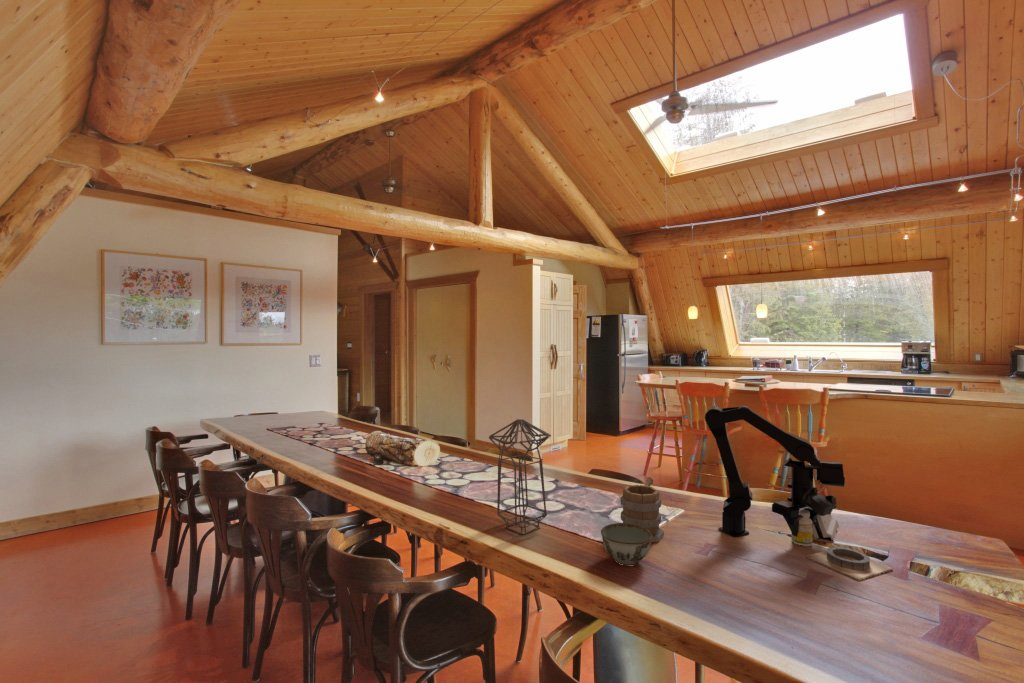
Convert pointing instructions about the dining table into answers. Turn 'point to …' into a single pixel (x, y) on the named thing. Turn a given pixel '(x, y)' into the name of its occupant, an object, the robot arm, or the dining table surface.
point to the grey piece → (825, 527)
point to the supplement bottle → (804, 530)
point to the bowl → (626, 542)
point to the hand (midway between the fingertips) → (801, 534)
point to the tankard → (642, 508)
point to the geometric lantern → (528, 428)
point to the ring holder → (849, 562)
